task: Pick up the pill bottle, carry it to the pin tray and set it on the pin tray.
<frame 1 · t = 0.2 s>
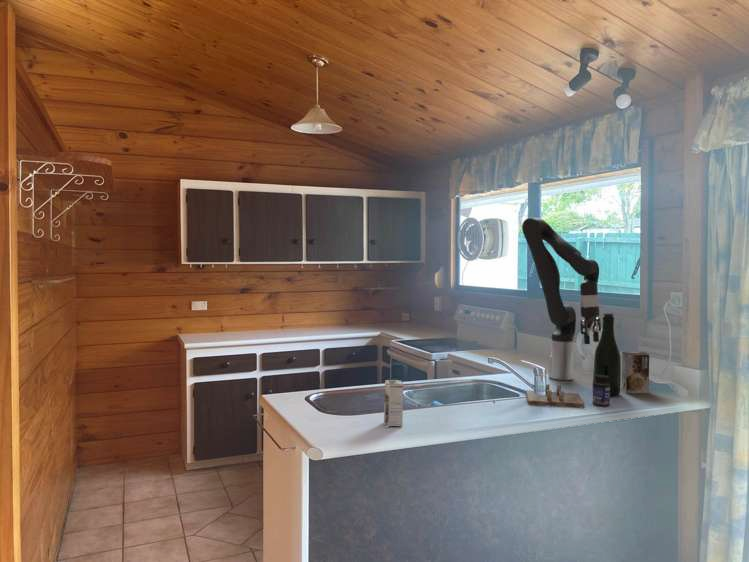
hand: (591, 342, 256), 18 cm above the worktop, tool pointing down, fingers open, 8 cm apart
coffee box: (634, 392, 244), on the worktop
pin tray: (553, 400, 228), on the worktop
pill bottle: (600, 405, 223), on the worktop
syrup box: (393, 425, 196), on the worktop
dark green wine bottle: (606, 394, 239), on the worktop
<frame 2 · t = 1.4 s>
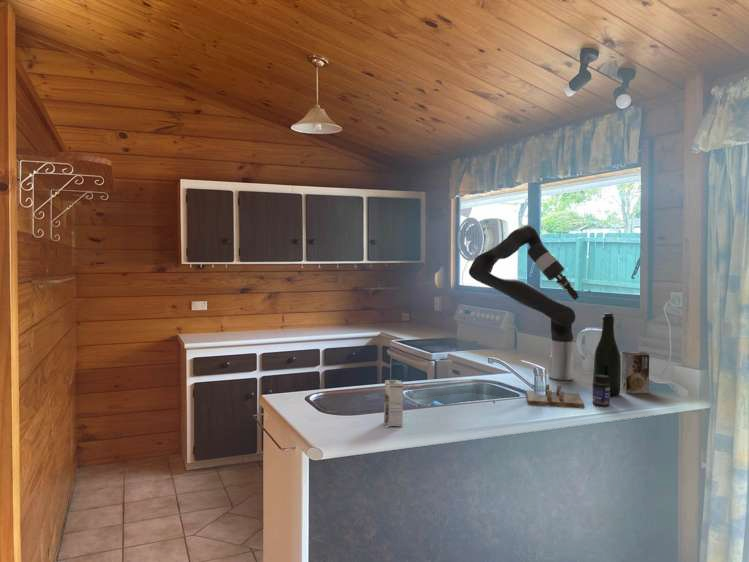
hand: (576, 297, 231), 40 cm above the worktop, tool tilted 40°, fingers open, 8 cm apart
nothing on the worktop moved.
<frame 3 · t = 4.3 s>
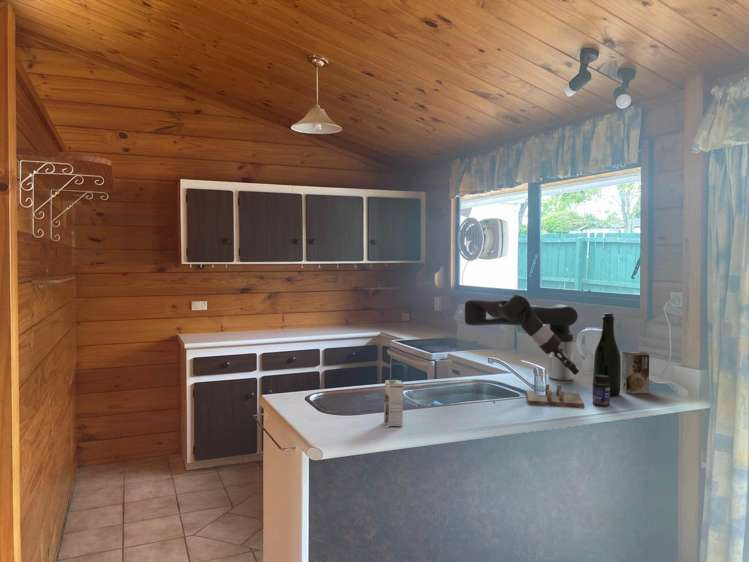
hand: (575, 370, 223), 13 cm above the worktop, tool tilted 45°, fingers open, 8 cm apart
nothing on the worktop moved.
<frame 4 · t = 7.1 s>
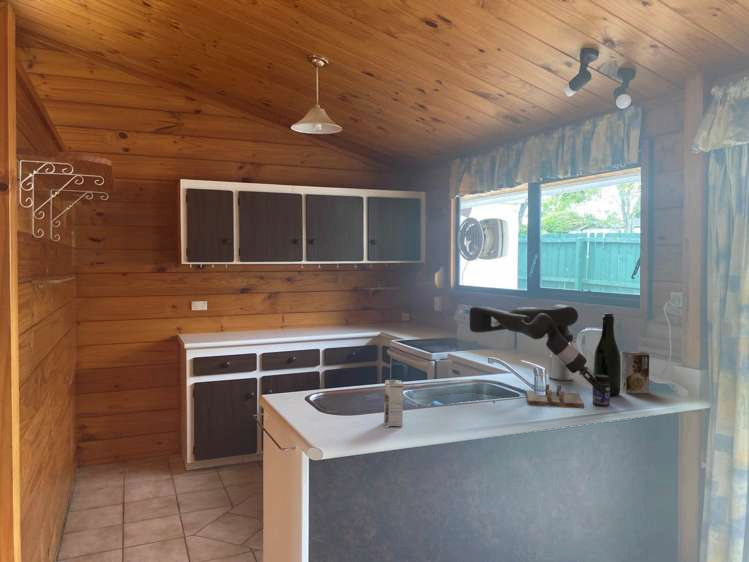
hand: (602, 390, 223), 6 cm above the worktop, tool tilted 45°, fingers closed on pill bottle, 6 cm apart
pill bottle: (600, 405, 223), on the worktop, touching gripper
everything else where it was.
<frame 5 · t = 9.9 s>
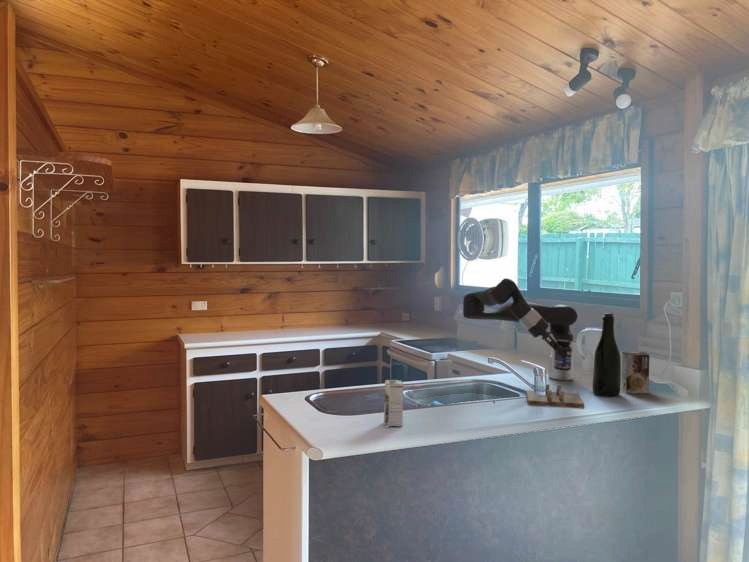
hand: (564, 354, 226), 18 cm above the worktop, tool tilted 45°, fingers closed on pill bottle, 6 cm apart
pill bottle: (562, 369, 226), point 12 cm above the worktop, touching gripper
everything else where it was.
when the fingers open (8 cm above the worktop, at t = 13.1 s): pill bottle stays where it is, resting on pin tray.
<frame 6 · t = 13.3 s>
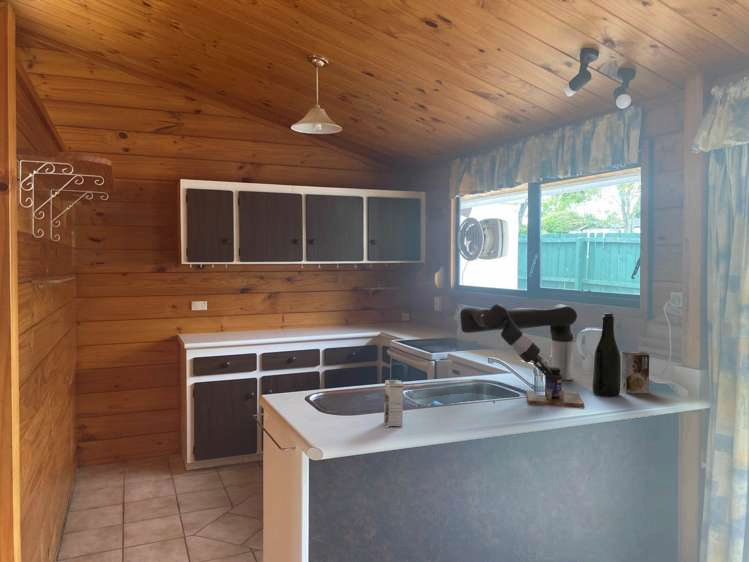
hand: (555, 378, 228), 9 cm above the worktop, tool tilted 45°, fingers open, 7 cm apart
pill bottle: (553, 397, 229), point 1 cm above the worktop, touching pin tray
everything else where it was.
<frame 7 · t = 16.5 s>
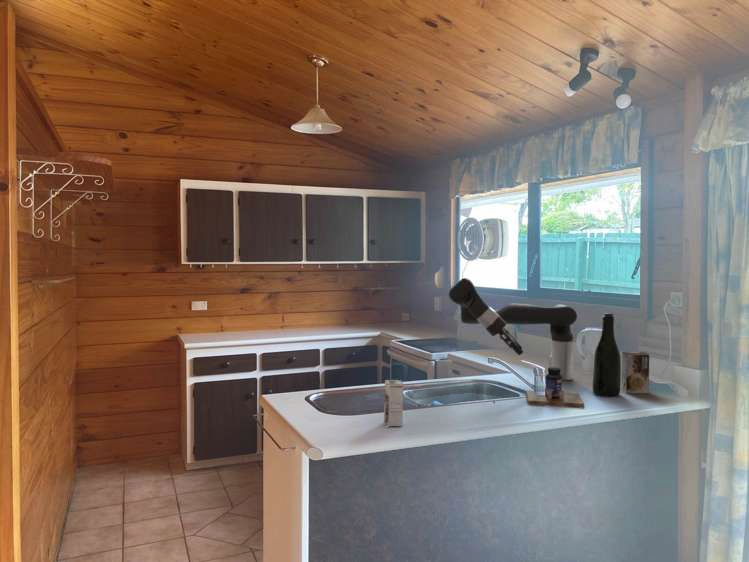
hand: (520, 351, 230), 19 cm above the worktop, tool tilted 45°, fingers open, 8 cm apart
nothing on the worktop moved.
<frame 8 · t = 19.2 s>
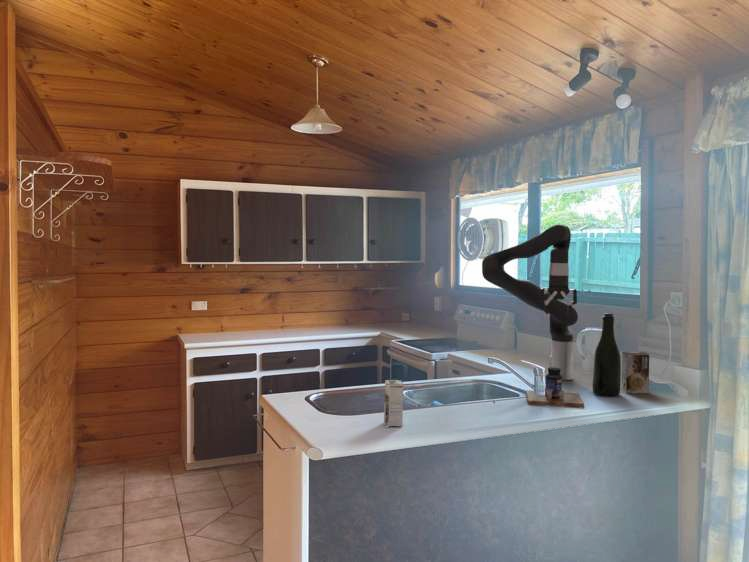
hand: (557, 314, 239), 32 cm above the worktop, tool pointing down, fingers open, 8 cm apart
nothing on the worktop moved.
at the end: pill bottle 0.3 cm from the pin tray (horizontally); pill bottle point 1.3 cm above the worktop; pill bottle tilted 0° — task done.
